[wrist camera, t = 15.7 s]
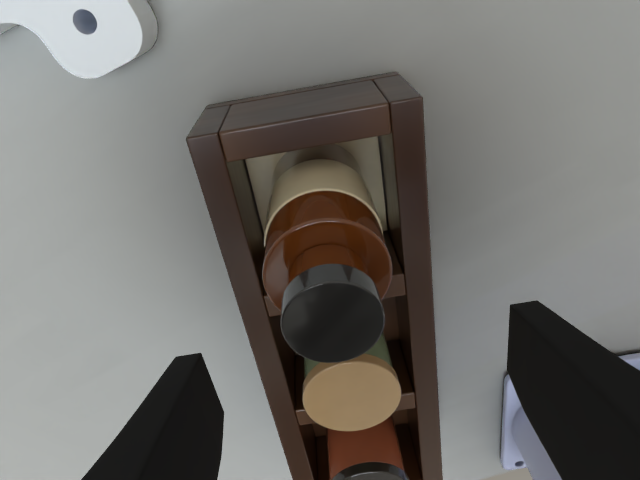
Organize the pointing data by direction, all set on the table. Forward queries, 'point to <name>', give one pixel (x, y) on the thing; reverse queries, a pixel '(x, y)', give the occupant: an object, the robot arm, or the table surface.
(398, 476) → the clay jar
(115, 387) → the table surface
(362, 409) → the green jar
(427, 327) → the cup holder
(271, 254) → the spice bottle
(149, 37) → the mounting plate
